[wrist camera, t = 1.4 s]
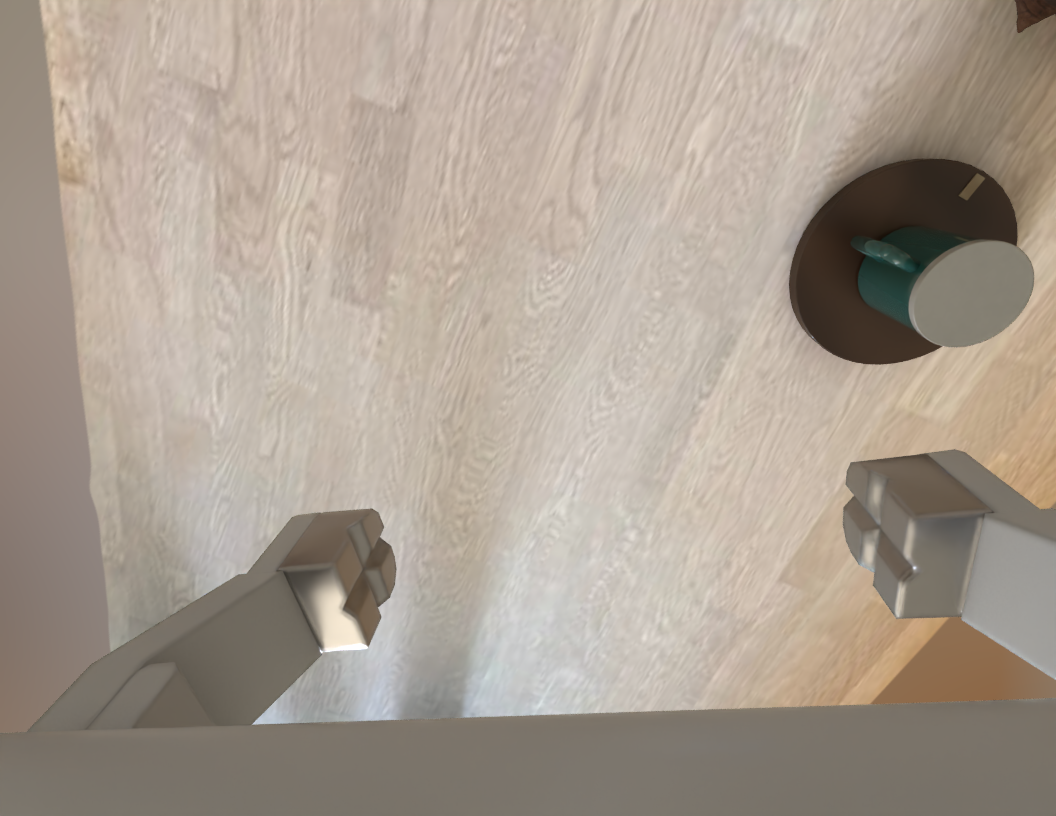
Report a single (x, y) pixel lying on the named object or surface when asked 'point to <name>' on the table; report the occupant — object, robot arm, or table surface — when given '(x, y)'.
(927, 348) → the turntable
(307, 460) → the table surface
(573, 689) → the table surface
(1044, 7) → the brown strap loop
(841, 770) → the robot arm
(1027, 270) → the green lidded mug
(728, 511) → the table surface
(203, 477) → the table surface
